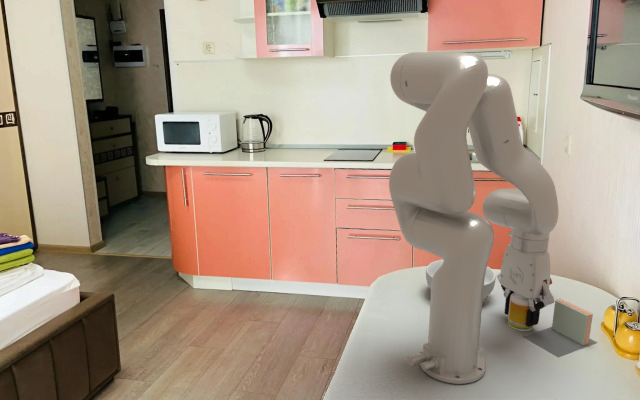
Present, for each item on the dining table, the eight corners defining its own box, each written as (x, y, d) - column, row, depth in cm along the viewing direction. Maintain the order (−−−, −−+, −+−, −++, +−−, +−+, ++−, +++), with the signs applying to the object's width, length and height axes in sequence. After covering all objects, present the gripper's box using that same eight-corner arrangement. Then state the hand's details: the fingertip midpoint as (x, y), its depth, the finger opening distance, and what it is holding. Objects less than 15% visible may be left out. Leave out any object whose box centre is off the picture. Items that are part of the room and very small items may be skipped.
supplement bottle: (534, 333, 116) (539, 292, 113) (509, 331, 117) (513, 290, 114) (530, 321, 121) (535, 282, 118) (505, 319, 122) (509, 280, 119)
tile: (583, 345, 110) (587, 315, 108) (551, 328, 117) (554, 299, 115) (588, 344, 111) (592, 313, 109) (556, 327, 118) (560, 298, 116)
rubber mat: (557, 359, 106) (558, 357, 106) (522, 338, 114) (522, 336, 114) (597, 344, 112) (597, 342, 111) (561, 325, 119) (561, 323, 119)
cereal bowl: (411, 289, 138) (413, 263, 136) (464, 278, 144) (465, 254, 142) (452, 318, 123) (454, 290, 121) (508, 305, 129) (511, 278, 127)
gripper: (486, 233, 119) (480, 306, 124) (550, 259, 105) (540, 341, 109) (511, 228, 123) (504, 300, 127) (575, 252, 108) (565, 332, 113)
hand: (520, 318), depth 118 cm, fingers closed on supplement bottle, 5 cm apart
